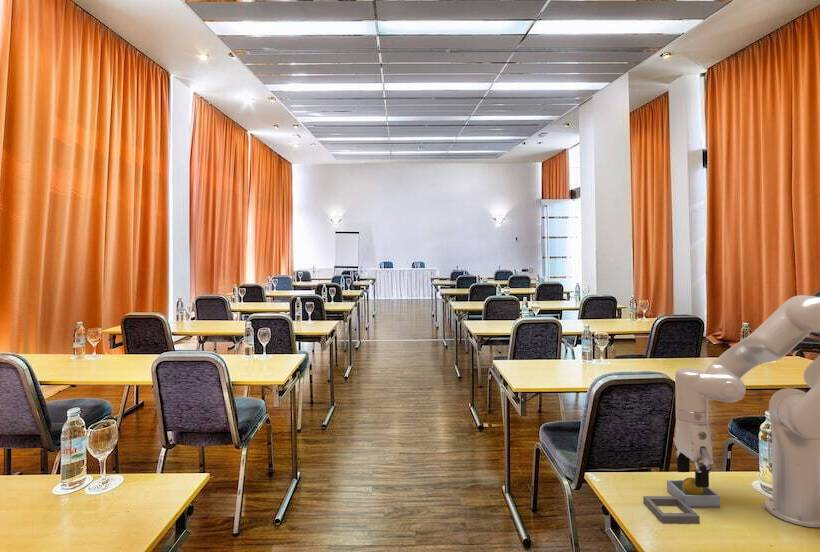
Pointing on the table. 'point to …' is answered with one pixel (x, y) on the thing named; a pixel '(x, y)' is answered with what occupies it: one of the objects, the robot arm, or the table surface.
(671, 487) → the parts tray
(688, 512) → the holder panel
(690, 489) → the grooved yellow cone
